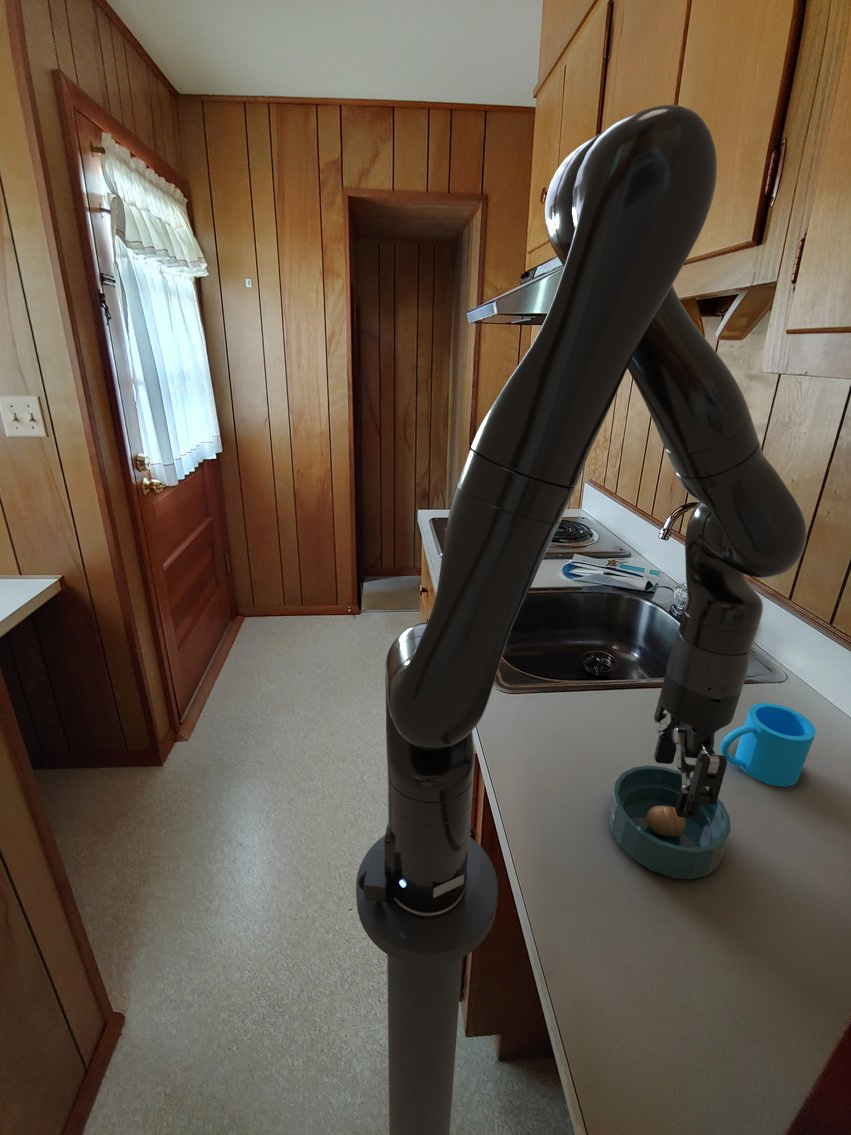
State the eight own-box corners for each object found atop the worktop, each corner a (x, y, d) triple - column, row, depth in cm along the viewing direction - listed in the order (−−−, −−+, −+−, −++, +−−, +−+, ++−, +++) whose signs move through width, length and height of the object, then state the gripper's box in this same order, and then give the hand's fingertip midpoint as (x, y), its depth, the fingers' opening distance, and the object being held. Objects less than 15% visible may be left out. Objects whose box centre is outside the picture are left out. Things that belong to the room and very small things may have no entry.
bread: (648, 840, 68) (653, 820, 66) (641, 818, 71) (646, 798, 69) (686, 844, 67) (692, 824, 66) (678, 821, 70) (683, 801, 69)
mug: (773, 745, 85) (788, 701, 82) (812, 785, 77) (830, 739, 74) (699, 748, 84) (712, 704, 81) (731, 789, 76) (746, 743, 73)
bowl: (620, 876, 64) (627, 845, 62) (599, 789, 76) (604, 761, 74) (739, 888, 63) (750, 857, 61) (698, 798, 75) (706, 770, 73)
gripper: (651, 638, 67) (627, 743, 73) (691, 712, 54) (658, 833, 60) (715, 643, 66) (685, 749, 72) (771, 718, 53) (729, 840, 59)
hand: (673, 787), depth 66 cm, fingers open, 8 cm apart
